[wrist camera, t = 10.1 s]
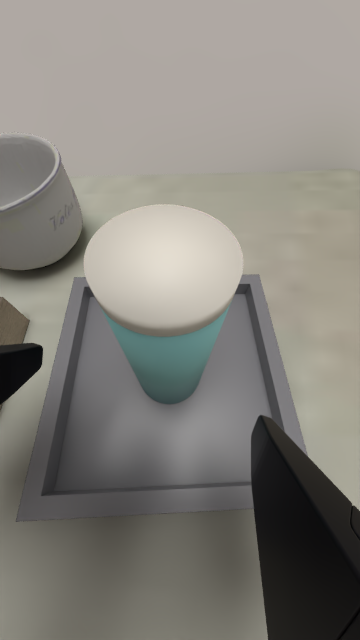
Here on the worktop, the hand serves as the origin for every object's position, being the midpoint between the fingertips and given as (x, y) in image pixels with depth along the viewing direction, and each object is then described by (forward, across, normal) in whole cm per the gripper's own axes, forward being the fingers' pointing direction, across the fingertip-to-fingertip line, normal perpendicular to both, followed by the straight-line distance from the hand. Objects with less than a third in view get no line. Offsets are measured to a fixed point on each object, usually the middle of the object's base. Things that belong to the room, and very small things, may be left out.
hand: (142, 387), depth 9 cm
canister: (+8, 0, +3) cm, 8 cm away
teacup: (+15, +18, -3) cm, 24 cm away
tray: (+8, 0, +4) cm, 9 cm away
